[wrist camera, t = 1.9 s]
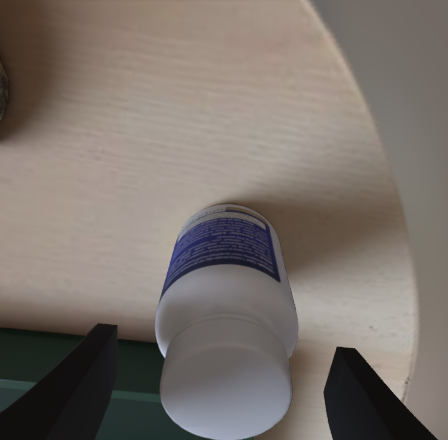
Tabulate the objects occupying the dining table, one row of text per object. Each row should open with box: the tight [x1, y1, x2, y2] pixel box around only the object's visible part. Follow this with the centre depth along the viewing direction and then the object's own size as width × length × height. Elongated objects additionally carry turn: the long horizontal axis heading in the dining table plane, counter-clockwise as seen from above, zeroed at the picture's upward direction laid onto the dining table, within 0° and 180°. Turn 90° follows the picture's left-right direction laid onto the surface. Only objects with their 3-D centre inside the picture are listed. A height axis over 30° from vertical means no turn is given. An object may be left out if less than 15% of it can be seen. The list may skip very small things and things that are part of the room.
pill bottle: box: [155, 204, 298, 440], centre depth 15 cm, size 5×5×9 cm
